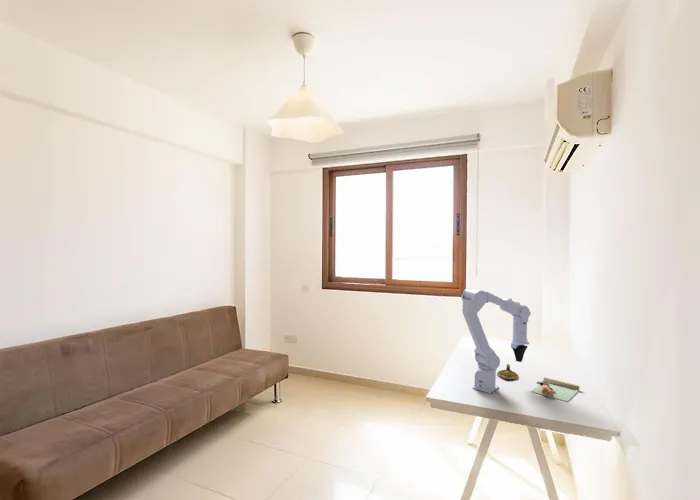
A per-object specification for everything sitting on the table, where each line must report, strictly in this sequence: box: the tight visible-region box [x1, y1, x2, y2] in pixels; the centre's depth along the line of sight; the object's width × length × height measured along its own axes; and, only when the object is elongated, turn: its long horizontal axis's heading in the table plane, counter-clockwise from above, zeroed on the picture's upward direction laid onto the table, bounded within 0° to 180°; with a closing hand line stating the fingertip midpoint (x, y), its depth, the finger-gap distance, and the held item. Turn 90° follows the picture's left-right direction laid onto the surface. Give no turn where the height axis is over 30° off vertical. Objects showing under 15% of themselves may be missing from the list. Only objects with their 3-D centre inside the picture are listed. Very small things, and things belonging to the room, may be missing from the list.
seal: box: [496, 363, 519, 382], centre depth 177 cm, size 9×5×15 cm
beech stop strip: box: [542, 377, 580, 392], centre depth 164 cm, size 2×14×2 cm, turn 45°
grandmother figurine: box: [536, 379, 556, 399], centre depth 158 cm, size 8×4×13 cm
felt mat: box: [530, 384, 579, 403], centre depth 158 cm, size 16×14×1 cm
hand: (519, 361), depth 166 cm, fingers closed
